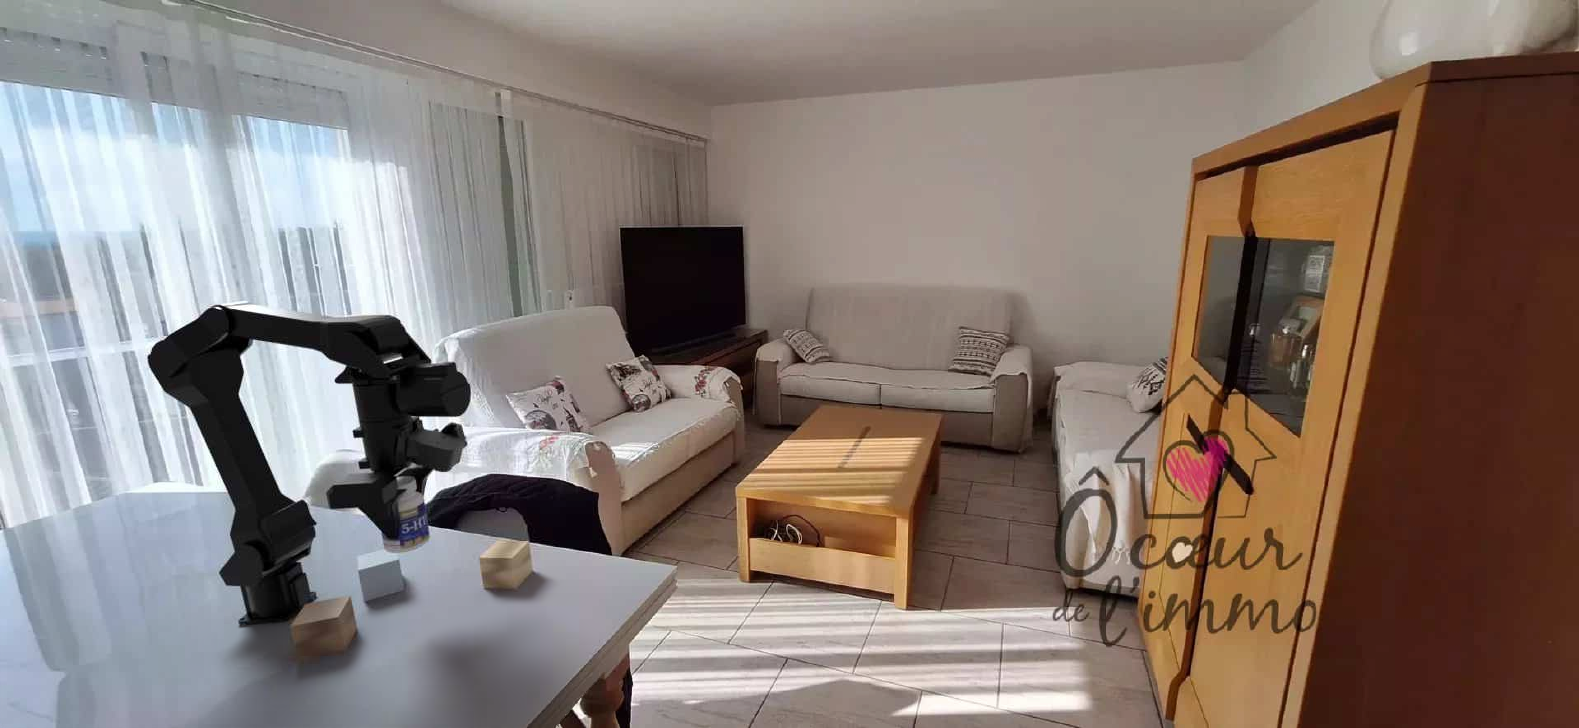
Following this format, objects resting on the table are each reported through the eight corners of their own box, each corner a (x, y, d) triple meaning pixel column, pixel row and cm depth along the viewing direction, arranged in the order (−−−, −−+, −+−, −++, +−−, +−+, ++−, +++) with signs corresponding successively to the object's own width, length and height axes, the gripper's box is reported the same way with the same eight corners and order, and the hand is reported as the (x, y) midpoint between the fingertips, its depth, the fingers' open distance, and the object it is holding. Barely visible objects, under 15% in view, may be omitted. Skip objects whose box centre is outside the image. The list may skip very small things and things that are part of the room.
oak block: (483, 588, 93) (479, 557, 92) (501, 570, 98) (497, 540, 97) (516, 589, 93) (511, 558, 92) (532, 571, 98) (528, 541, 96)
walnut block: (298, 662, 78) (290, 626, 77) (312, 638, 83) (305, 603, 82) (345, 652, 80) (338, 616, 79) (357, 629, 84) (350, 595, 83)
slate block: (364, 602, 91) (357, 570, 90) (363, 586, 95) (357, 556, 94) (404, 590, 93) (399, 559, 92) (402, 575, 97) (396, 545, 96)
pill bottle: (409, 555, 81) (398, 491, 80) (374, 552, 83) (363, 489, 81) (439, 536, 87) (429, 475, 85) (406, 533, 88) (396, 473, 86)
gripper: (415, 436, 72) (435, 561, 76) (479, 393, 90) (494, 495, 94) (312, 441, 71) (337, 567, 75) (398, 397, 90) (415, 500, 93)
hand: (405, 528), depth 84 cm, fingers closed on pill bottle, 5 cm apart
